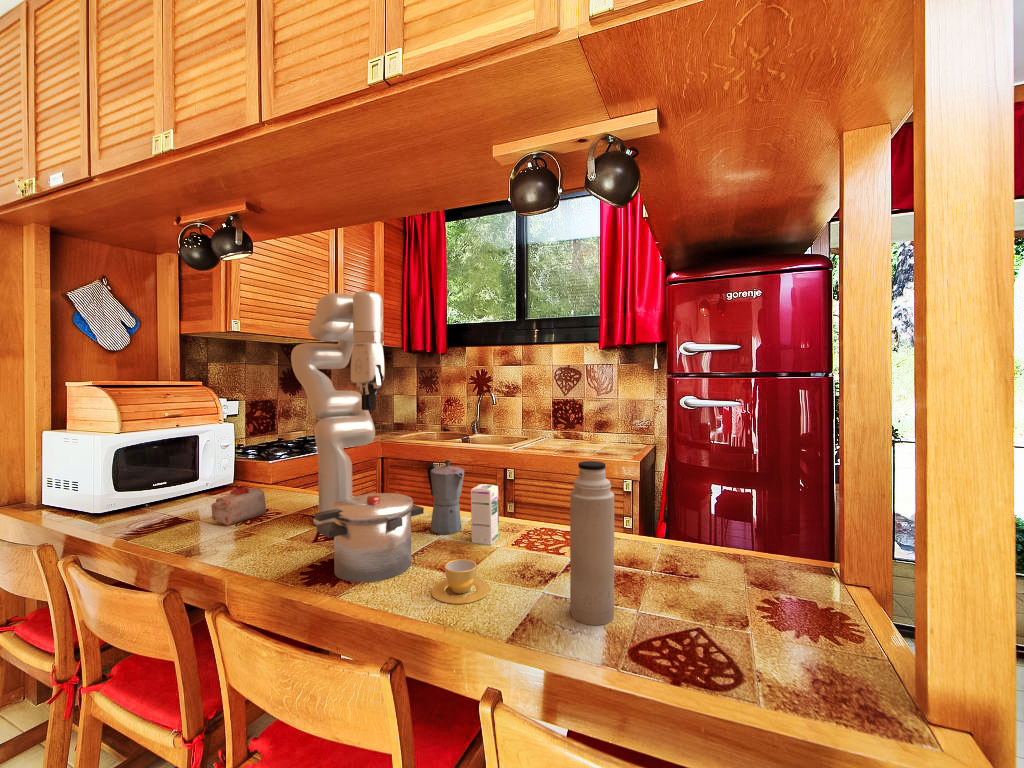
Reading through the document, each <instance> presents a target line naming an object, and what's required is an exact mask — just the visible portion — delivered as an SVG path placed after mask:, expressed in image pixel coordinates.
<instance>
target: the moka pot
mask: <svg viewBox="0 0 1024 768" xmlns="http://www.w3.org/2000/svg"><path fill="white" fill-rule="evenodd" d="M444 463H445V464H444V465H442V466H440V465H438V464H434V463H430V466H429V467H428V468H427V470H426V471H427V478H428V483H429V487H430V488H429V489H430V494H431V496H433V507H432V514H431V520H430V528H429V529H430V531H431V532H432V533H435V534H437V535H451V534H452V535H453V534H456V533H459V532H460V531H461V530H462V520H461V518H462V517H461V512H460V510H461V509H460V508H461V507H460V503H459V502H460V497H461V495H462V492H463V491H462V490H463V484H464V483H463V482H464V478H465V477H464V476H465V469H463V468H462V467H459V466H455V465H454V466H452V465H451V460H444Z"/></svg>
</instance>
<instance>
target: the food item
mask: <svg viewBox="0 0 1024 768" xmlns="http://www.w3.org/2000/svg"><path fill="white" fill-rule="evenodd" d="M210 506H211V507H210V508H211V519H212V520H213V521H216V522H217V523H220V524H222V525H224V526H233V525H235V524H238V523H241V522H244V521H247V520H251V519H254V518H258V517H260V516H263V515H265V514H267V510H266V496H265V491H264V490H263V489H260V488H254V487H253V488H250V489H247V488H245V487H240V488H237V487H233V488H232V490H231V491H230V494H226V495H223V496H221V497H217V498H216V500H215V502H212V504H211V505H210Z"/></svg>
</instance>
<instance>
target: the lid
mask: <svg viewBox="0 0 1024 768" xmlns="http://www.w3.org/2000/svg"><path fill="white" fill-rule="evenodd" d="M413 504H414V500H413V498H412V497H411V496H409V495H406V494H401V493H393V492H391V493H389V492H387V493H386V492H380V493H368V494H367V493H365V494H359V495H355V496H354V495H352V497H349V498H345V499H342V500H340V501H337V502H336V503H334V504H333V505H332V507H331V510H328V511H323V512H319V511H318V512H314V518H315V519H316V520H318V521H324V520H328V519H332V518H335V519H337V520H341V521H346V522H375V521H383V520H388V519H393V518H397V517H400V516H403V515H405V514H407V513H409V512H411V511H412V510H413Z"/></svg>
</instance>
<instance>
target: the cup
mask: <svg viewBox="0 0 1024 768" xmlns="http://www.w3.org/2000/svg"><path fill="white" fill-rule="evenodd" d="M444 571H445V579H441V580H440V581H438V582H437V583H435V584H434V585H433V586H432V587H431V589H430V594H431V595H432V597H433V598H434V599H435V600H437V601H439V602H443V603H447V604H459V605H461V604H469V603H473V602H476V601H479V600H481V599H483V598H485V597H486V596H487V595H488V594H489V592H490V590H491V588H490V587H491V586H490V585H489V583H488V582H487V581H485V580H484V579H482V578H479V577H476V575H477V574H476V573H477V563H476V562H475V561H474V560H471V559H465V558H461V559H460V558H459V559H453V560H450V561H448V562H446V563H445V565H444ZM448 585H449V587H448V588H450V590H451V591H452V593H455V594H458V595H459V594H462V593H463V594H465V593H468V592H469V591H470V590H471V588H472V587H474V586H475V587H476V591H475V590H474V592H472V593H471V594H469V595H466V597H465V596H453V597H452V595H450V594H448V593H447V592H446V593H447V594H448V595H447V594H446V593H445V591H444V588H445V587H446V586H448ZM472 585H474V586H472ZM475 587H474V588H475ZM449 595H450V596H449Z"/></svg>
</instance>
